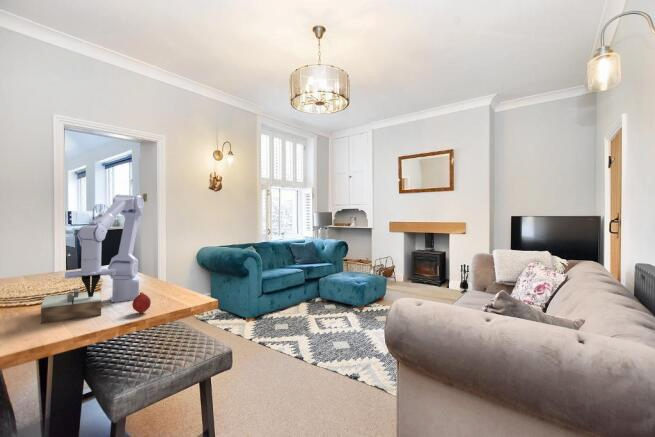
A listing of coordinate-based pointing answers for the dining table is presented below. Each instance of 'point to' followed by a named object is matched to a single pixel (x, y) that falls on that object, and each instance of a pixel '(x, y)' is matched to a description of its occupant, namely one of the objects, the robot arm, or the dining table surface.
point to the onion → (141, 303)
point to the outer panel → (57, 300)
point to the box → (70, 311)
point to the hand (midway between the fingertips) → (90, 296)
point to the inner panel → (86, 297)
